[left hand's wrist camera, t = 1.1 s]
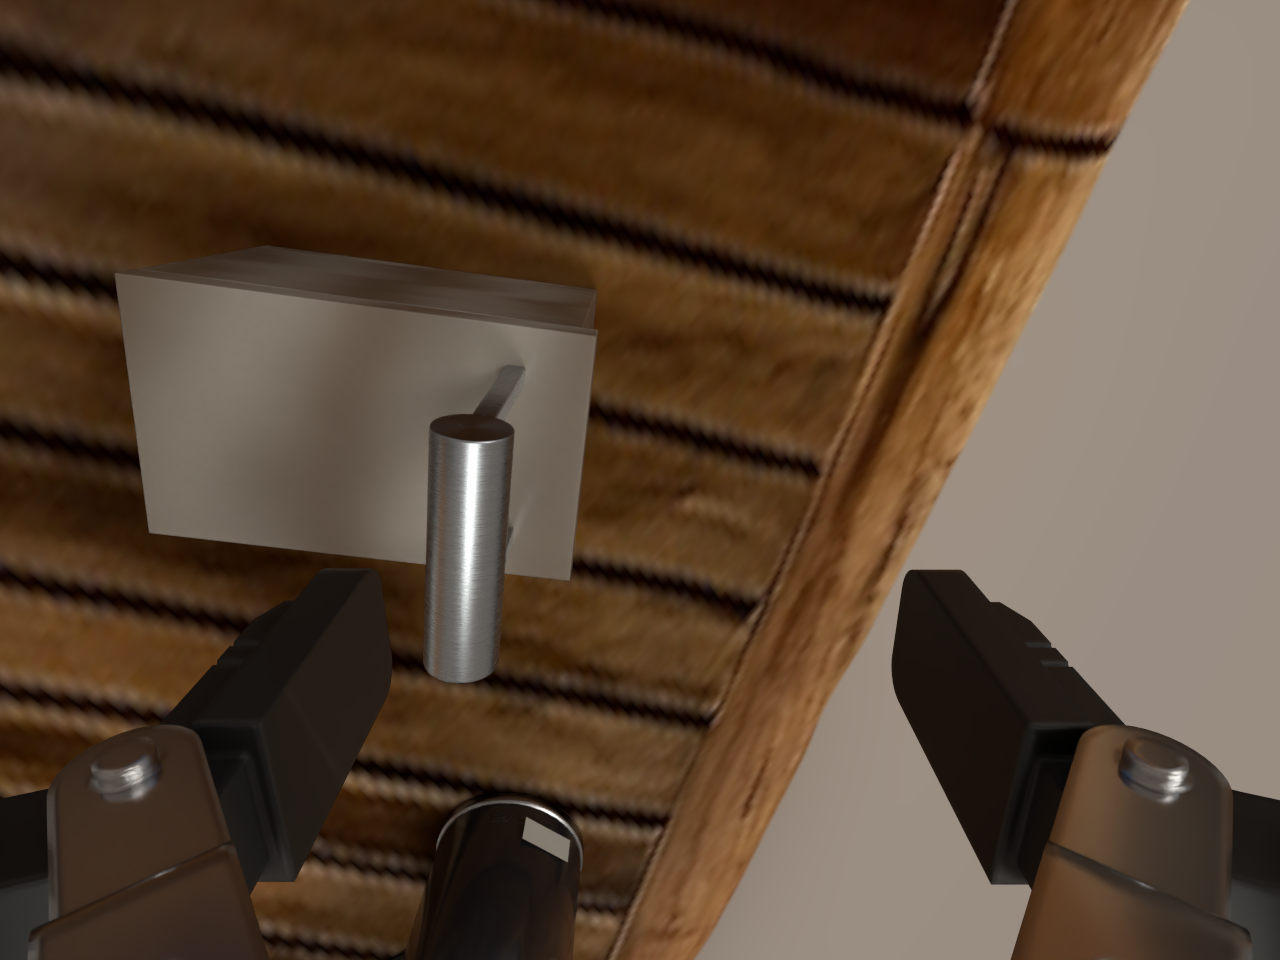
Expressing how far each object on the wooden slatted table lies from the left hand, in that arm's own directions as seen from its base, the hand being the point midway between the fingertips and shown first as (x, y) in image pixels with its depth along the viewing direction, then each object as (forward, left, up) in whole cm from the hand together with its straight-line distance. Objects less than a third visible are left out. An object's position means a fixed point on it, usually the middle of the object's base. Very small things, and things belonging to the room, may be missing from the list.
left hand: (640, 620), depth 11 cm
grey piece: (-6, +9, -17) cm, 19 cm away
